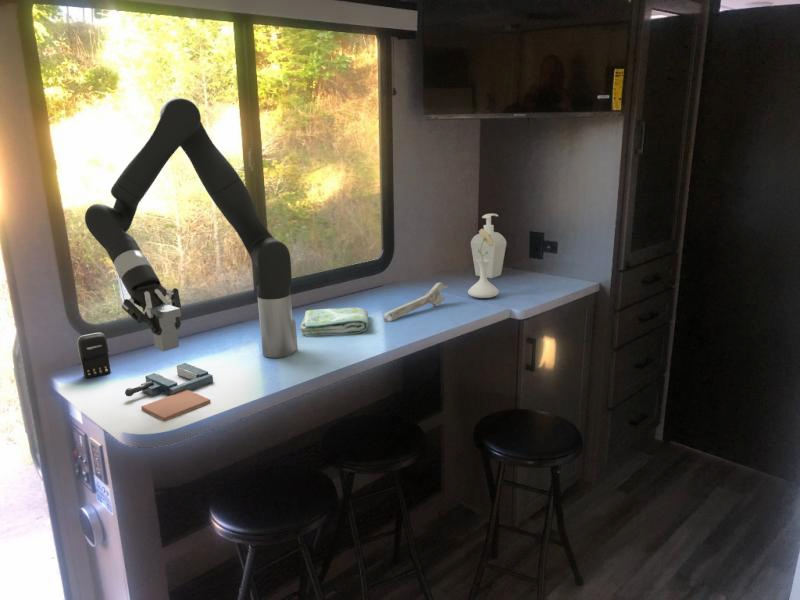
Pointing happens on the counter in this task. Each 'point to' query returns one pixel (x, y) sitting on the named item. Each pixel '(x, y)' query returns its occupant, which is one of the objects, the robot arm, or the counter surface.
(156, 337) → the gray rectangular prism
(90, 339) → the battery charger
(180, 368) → the vise
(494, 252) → the soap bottle
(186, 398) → the mat
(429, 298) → the wrench
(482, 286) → the flower in vase
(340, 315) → the towel
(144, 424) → the counter surface
